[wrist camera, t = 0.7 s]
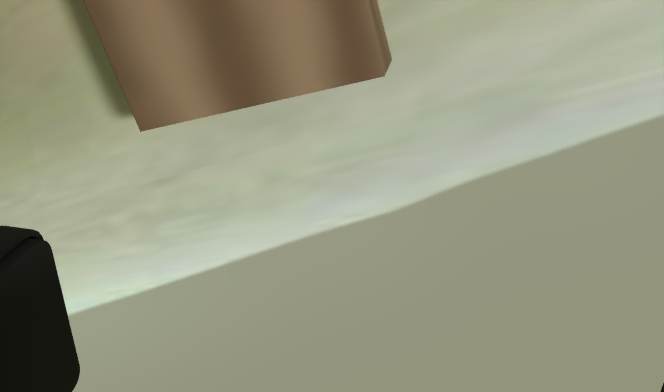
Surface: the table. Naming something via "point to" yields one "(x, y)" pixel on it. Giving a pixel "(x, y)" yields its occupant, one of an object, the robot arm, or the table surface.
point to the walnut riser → (235, 52)
